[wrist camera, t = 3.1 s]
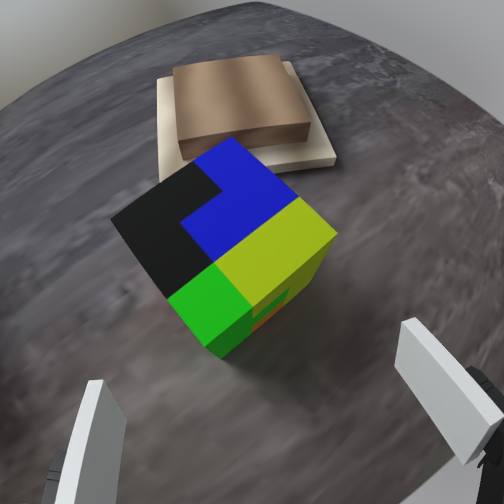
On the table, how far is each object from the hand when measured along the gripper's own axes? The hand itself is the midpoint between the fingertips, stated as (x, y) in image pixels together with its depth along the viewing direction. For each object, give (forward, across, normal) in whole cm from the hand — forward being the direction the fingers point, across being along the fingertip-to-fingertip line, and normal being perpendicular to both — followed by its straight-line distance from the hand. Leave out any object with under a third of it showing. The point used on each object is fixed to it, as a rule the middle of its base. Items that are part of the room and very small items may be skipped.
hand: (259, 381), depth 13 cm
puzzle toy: (+16, 0, -3) cm, 16 cm away
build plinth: (+29, +3, +11) cm, 31 cm away
